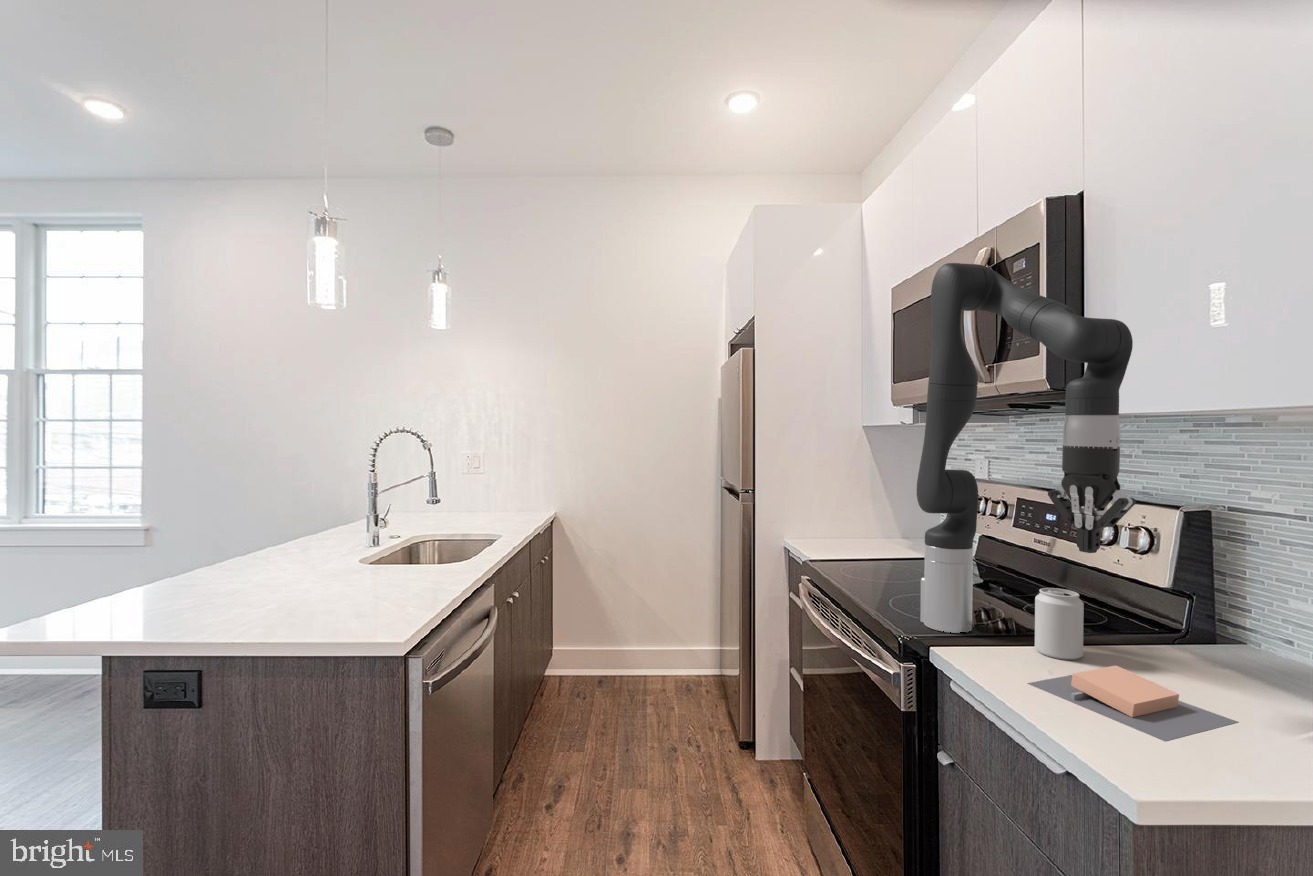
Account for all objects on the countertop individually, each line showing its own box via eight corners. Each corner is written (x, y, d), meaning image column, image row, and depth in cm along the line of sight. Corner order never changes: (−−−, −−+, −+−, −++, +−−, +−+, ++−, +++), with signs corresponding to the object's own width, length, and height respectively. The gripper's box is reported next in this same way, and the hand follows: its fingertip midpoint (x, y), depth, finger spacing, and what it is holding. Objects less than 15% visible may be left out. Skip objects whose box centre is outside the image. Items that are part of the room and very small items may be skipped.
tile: (1072, 673, 96) (1134, 704, 88) (1116, 665, 100) (1179, 694, 91) (1070, 686, 96) (1132, 718, 88) (1114, 678, 100) (1177, 707, 92)
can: (1091, 664, 110) (1091, 597, 109) (1044, 661, 111) (1045, 594, 111) (1071, 650, 117) (1072, 587, 117) (1028, 647, 118) (1028, 584, 118)
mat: (1026, 685, 100) (1027, 678, 100) (1094, 672, 106) (1094, 665, 106) (1165, 744, 81) (1165, 735, 81) (1238, 724, 87) (1238, 716, 87)
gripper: (1035, 442, 103) (1033, 545, 104) (1118, 445, 91) (1115, 562, 91) (1066, 442, 106) (1064, 543, 107) (1151, 445, 94) (1148, 559, 94)
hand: (1088, 552), depth 99 cm, fingers closed
